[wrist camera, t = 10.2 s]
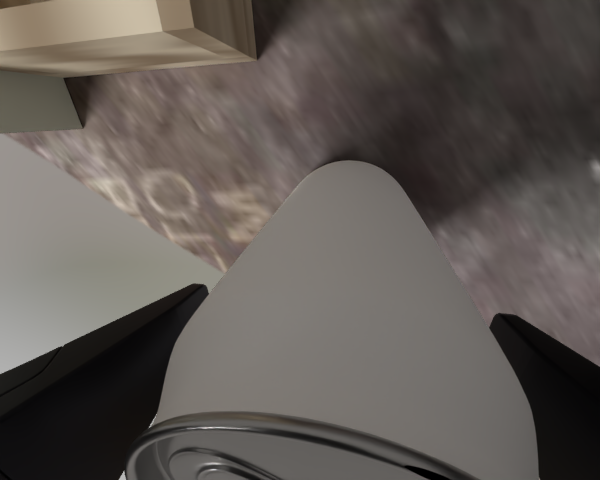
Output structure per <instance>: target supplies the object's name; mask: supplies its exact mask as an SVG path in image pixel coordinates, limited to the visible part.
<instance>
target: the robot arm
mask: <svg viewBox="0 0 600 480" xmlns="http://www.w3.org/2000/svg"><path fill="white" fill-rule="evenodd" d="M208 295H209V293H208V289H207V287H206V285H204V284H191V285H189V286H187V287H185V288H183V289H181V290H179V291H177V292H174V293H172V294H170V295H168V296H166V297H164V298H162V299H160V300H158V301H155V302H153V303H151V304H149V305H147V306H145V307H143V308H141V309H139V310H136V311H134V312H132V313H130V314H128V315H126V316H124V317H122V318H120V319H117V320H116V321H113V322H111V323H109V324H107V325H105V326H103V327H101V328H99V329H96V330H94V331H92V332H90V333H88V334H86V335H84V336H82V337H79V338H77V339H75V340H73V341H71V342H69V343H67V344H65V345H64V346H63V347H62V346H61V347H58V348H56V349H54V350H52V351H50V352H48V353H46V354H44V355H41V356H39V357H37V358H35V359H33V360H31V361H28V362H26V363H24V364H22V365H20V366H18V367H16V368H13V369H11V370H9V371H6V372H4V373H2V374H0V480H119V478H120V476H121V475H122V473H123V471H124V462H125V457H126V454H127V452H128V450H129V448H130V446H131V445H132V443H133V442H134V441H135V440H136V438H137V437H138V436H139V435H140V434H142V433H143V432H144V431H145V430H147V429H148V428H149V426H150V424H151V423H152V421H153V419H154V417H155V416H156V414H157V412H158V408H159V404H160V399H161V395H162V390H163V385H164V380H165V376H166V371H167V367H168V363H169V360H170V356H171V353H172V351H173V348H174V345H175V343H176V341H177V339H178V337H179V335H180V334H181V332H182V331H183V329H184V327H185V326H186V324H187V323H188V321H189V320H190V318H191V317H192V316H193V314H194V313H195V312H196V310H197V309H198V308H199V306H200V305H201V304H202V302H203V301H204V300H205V299H206V297H207V296H208ZM489 329H490V330H491V332H492V334H493V335H494V337H495V339H496V340H497V342H498V344H499V346H500V347H501V349H502V351H503V353H504V354H505V356H506V358H507V360H508V361H509V363H510V365H511V367H512V368H513V370H514V372H515V374H516V376H517V378H518V380H519V382H520V384H521V386H522V389H523V391H524V393H525V395H526V397H527V400H528V402H529V404H530V408H531V411H532V415H533V420H534V425H535V431H536V440H537V451H538V472H539V478H540V480H600V367H599V366H598V365H596V364H594V363H593V362H591V361H589V360H588V359H586V358H585V357H583V356H581V355H580V354H578V353H577V352H575V351H573V350H572V349H570V348H568V347H567V346H565V345H564V344H562V343H560V342H559V341H557V340H556V339H554V338H552V337H551V336H549V335H547V334H546V333H544V332H543V331H541V330H539V329H538V328H536V327H535V326H533V325H531V324H530V323H528V322H526V321H525V320H523V319H522V318H520V317H518V316H517V315H513V314H503V313H498V314H496V315H495V316H494V317H493V320H492V322H491V325H490V327H489Z"/></svg>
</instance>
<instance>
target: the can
mask: <svg viewBox="0 0 600 480" xmlns="http://www.w3.org/2000/svg"><path fill="white" fill-rule="evenodd" d="M124 471H125V476H126V480H539V472H538V451H537V440H536V431H535V425H534V420H533V415H532V411H531V408H530V404H529V402H528V400H527V397H526V395H525V393H524V391H523V389H522V386H521V384H520V382H519V380H518V378H517V376H516V374H515V372H514V370H513V368H512V367H511V365H510V363H509V361H508V360H507V358H506V356H505V354H504V353H503V351H502V349H501V347H500V346H499V344H498V342H497V340H496V339H495V337H494V335H493V334H492V332H491V330H490V329H489V327H488V326H487V324H486V322H485V321H484V319H483V317H482V316H481V314H480V312H479V311H478V309H477V307H476V306H475V304H474V302H473V301H472V299H471V297H470V296H469V294H468V292H467V291H466V289H465V288H464V286H463V284H462V283H461V281H460V279H459V278H458V276H457V275H456V273H455V271H454V270H453V268H452V266H451V265H450V263H449V262H448V260H447V258H446V257H445V255H444V253H443V252H442V250H441V249H440V247H439V245H438V244H437V242H436V241H435V239H434V237H433V236H432V234H431V232H430V231H429V229H428V228H427V226H426V224H425V223H424V221H423V220H422V218H421V216H420V215H419V213H418V212H417V210H416V208H415V207H414V205H413V204H412V202H411V201H410V199H409V197H408V196H407V194H406V193H405V191H404V190H403V188H402V187H401V186H400V184H399V183H398V182H397V181H396V180H395V179H394V178H393V177H392V176H391V175H390V174H388V173H387V172H386V171H384V170H383V169H381V168H379V167H377V166H375V165H372V164H369V163H366V162H361V161H353V160H346V161H338V162H333V163H329V164H327V165H324V166H322V167H320V168H318V169H316V170H314V171H313V172H311V173H310V174H309V175H308V176H306V177H305V178H304V179H303V180H302V181H301V182H300V183H299V185H298V186H297V187H296V188H295V189H294V190H293V192H292V193H291V194H290V195H289V196H288V198H287V199H286V200H285V201H284V202H283V204H282V205H281V206H280V207H279V208H278V210H277V211H276V212H275V213H274V214H273V216H272V217H271V218H270V219H269V221H268V222H267V223H266V224H265V225H264V227H263V228H262V229H261V230H260V232H259V233H258V234H257V235H256V236H255V238H254V239H253V240H252V241H251V243H250V244H249V245H248V246H247V248H246V249H245V250H244V251H243V252H242V254H241V255H240V256H239V257H238V259H237V260H236V261H235V262H234V264H233V265H232V266H231V267H230V268H229V270H228V271H227V272H226V273H225V275H224V276H223V277H222V278H221V280H220V281H219V282H218V284H217V285H216V286H215V287H214V288H213V290H212V291H211V292H210V294H209V295H208V296H207V297H206V299H205V300H204V301H203V302H202V304H201V305H200V306H199V308H198V309H197V310H196V312H195V313H194V314H193V316H192V317H191V318H190V320H189V321H188V323H187V324H186V326H185V327H184V329H183V331H182V332H181V334H180V335H179V337H178V339H177V341H176V343H175V345H174V348H173V351H172V353H171V356H170V360H169V363H168V367H167V371H166V376H165V380H164V385H163V390H162V395H161V399H160V404H159V408H158V412H157V415H156V418H155V420H154V423H153V424H152V426H151V427H150V428H148V429H147V430H145V431H144V432H143V433H142V434H140V435H139V436H138V437H137V438H136V440H135V441H134V442H133V443H132V445H131V446H130V448H129V450H128V452H127V454H126V457H125V462H124Z"/></svg>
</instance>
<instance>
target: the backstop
mask: <svg viewBox="0 0 600 480" xmlns="http://www.w3.org/2000/svg"><path fill="white" fill-rule="evenodd" d="M70 129H83V128H82V125H81V123H80V120H79V118H78V115H77V112H76V110H75V107H74V105H73V102H72V99H71V97H70V94H69V92H68V89H67V87H66V84H65V81H64V79H63V78H60V77H52V76H43V75H35V74H27V73H19V72H10V71H2V70H0V133H17V132H35V131H52V130H70Z"/></svg>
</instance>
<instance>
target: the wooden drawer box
mask: <svg viewBox="0 0 600 480" xmlns="http://www.w3.org/2000/svg"><path fill="white" fill-rule="evenodd" d="M249 61H257V55H256V44H255V33H254V23H253V12H252V1H251V0H0V70H2V71H10V72H19V73H27V74H35V75H43V76H52V77H60V78H67V77H79V76H90V75H102V74H113V73H124V72H136V71H147V70H158V69H170V68H181V67H192V66H204V65H215V64H226V63H238V62H249Z"/></svg>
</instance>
